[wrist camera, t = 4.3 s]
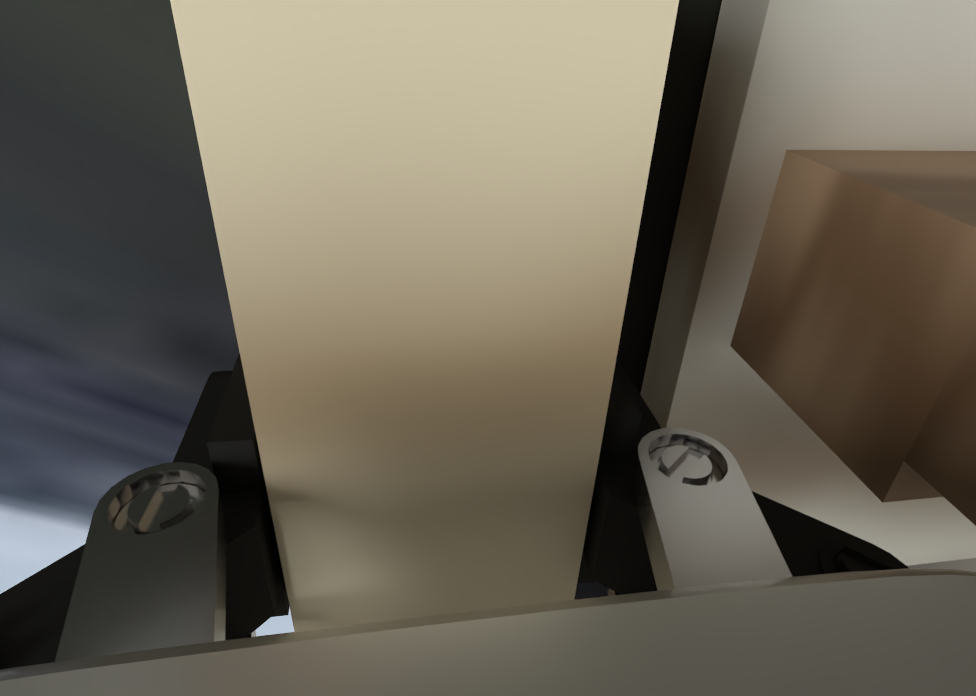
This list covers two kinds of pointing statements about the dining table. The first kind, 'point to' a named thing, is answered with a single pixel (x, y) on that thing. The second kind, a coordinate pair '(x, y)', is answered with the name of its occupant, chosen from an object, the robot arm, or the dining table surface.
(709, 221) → the stand
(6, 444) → the dining table surface
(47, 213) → the dining table surface
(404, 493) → the beige wooden bar
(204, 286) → the dining table surface
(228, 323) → the dining table surface
